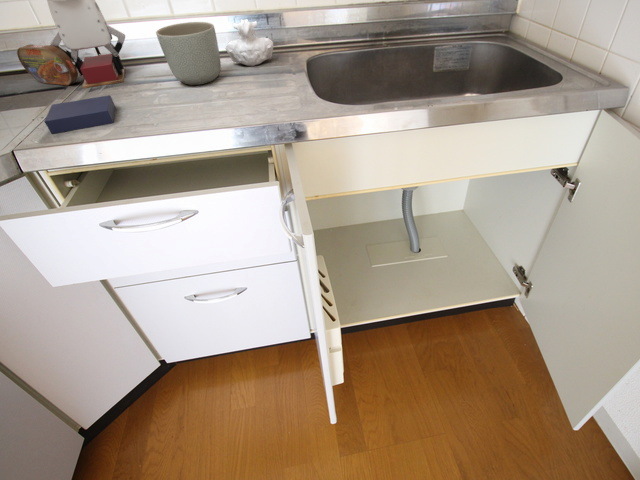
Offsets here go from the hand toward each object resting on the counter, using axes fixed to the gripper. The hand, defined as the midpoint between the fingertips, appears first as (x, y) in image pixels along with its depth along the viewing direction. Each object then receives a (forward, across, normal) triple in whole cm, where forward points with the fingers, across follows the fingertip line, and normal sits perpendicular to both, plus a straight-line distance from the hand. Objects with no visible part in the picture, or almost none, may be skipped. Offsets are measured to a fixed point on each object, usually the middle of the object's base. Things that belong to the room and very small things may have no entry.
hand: (104, 74), depth 98 cm
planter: (+1, -22, +14) cm, 26 cm away
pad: (+1, 0, 0) cm, 1 cm away
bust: (+1, -36, +8) cm, 37 cm away
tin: (+1, +10, -2) cm, 11 cm away
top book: (0, 0, 0) cm, 0 cm away
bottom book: (+1, +2, +27) cm, 27 cm away
